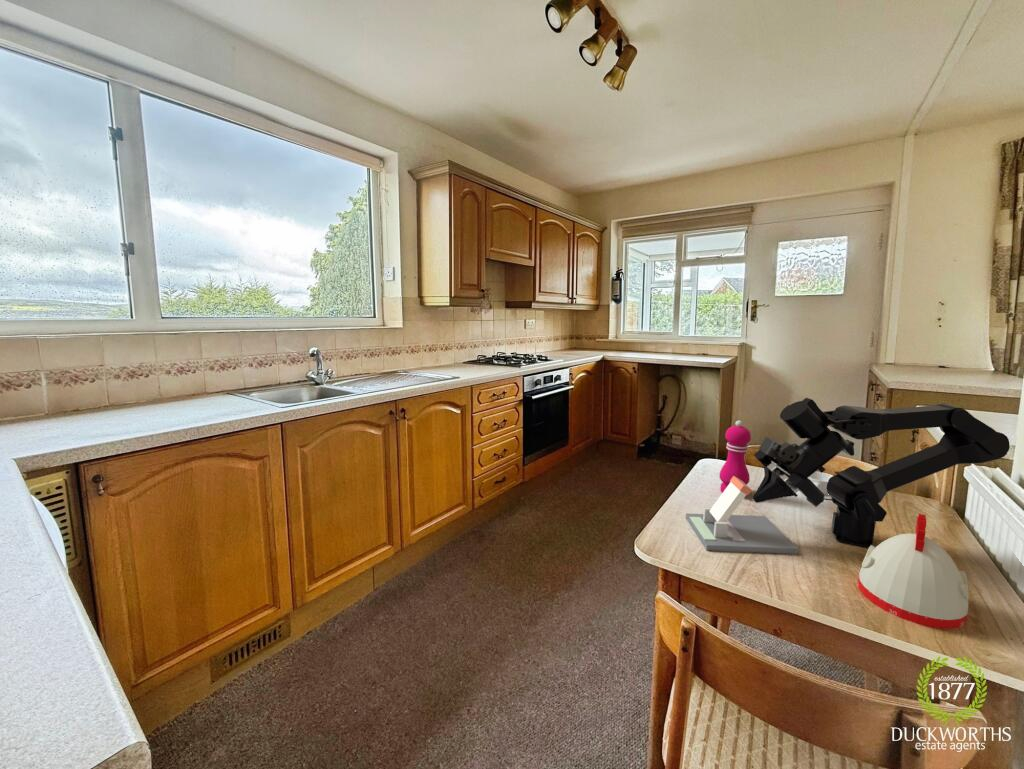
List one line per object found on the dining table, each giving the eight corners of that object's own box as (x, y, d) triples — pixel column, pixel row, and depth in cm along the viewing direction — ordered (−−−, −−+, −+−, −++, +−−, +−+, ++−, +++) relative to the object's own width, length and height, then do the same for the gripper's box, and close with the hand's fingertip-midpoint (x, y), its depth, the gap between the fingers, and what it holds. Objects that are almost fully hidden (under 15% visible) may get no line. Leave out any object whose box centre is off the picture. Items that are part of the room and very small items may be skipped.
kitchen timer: (962, 597, 76) (978, 517, 73) (970, 642, 66) (989, 551, 63) (860, 566, 85) (871, 493, 82) (853, 602, 75) (866, 520, 72)
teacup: (801, 482, 126) (803, 466, 125) (844, 492, 119) (846, 476, 118) (792, 492, 119) (794, 476, 118) (837, 504, 112) (840, 487, 111)
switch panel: (764, 520, 103) (766, 503, 102) (797, 553, 89) (800, 533, 88) (685, 518, 104) (686, 500, 104) (706, 550, 91) (708, 530, 90)
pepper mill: (745, 500, 114) (752, 425, 110) (715, 493, 118) (721, 421, 114) (750, 491, 119) (757, 419, 116) (721, 484, 124) (727, 415, 120)
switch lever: (715, 514, 99) (741, 480, 97) (724, 526, 94) (751, 489, 92) (708, 510, 99) (733, 475, 97) (716, 521, 94) (743, 485, 92)
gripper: (766, 415, 101) (713, 460, 104) (814, 439, 83) (748, 493, 85) (798, 449, 102) (744, 492, 105) (853, 480, 83) (786, 532, 86)
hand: (754, 500), depth 95 cm, fingers closed
